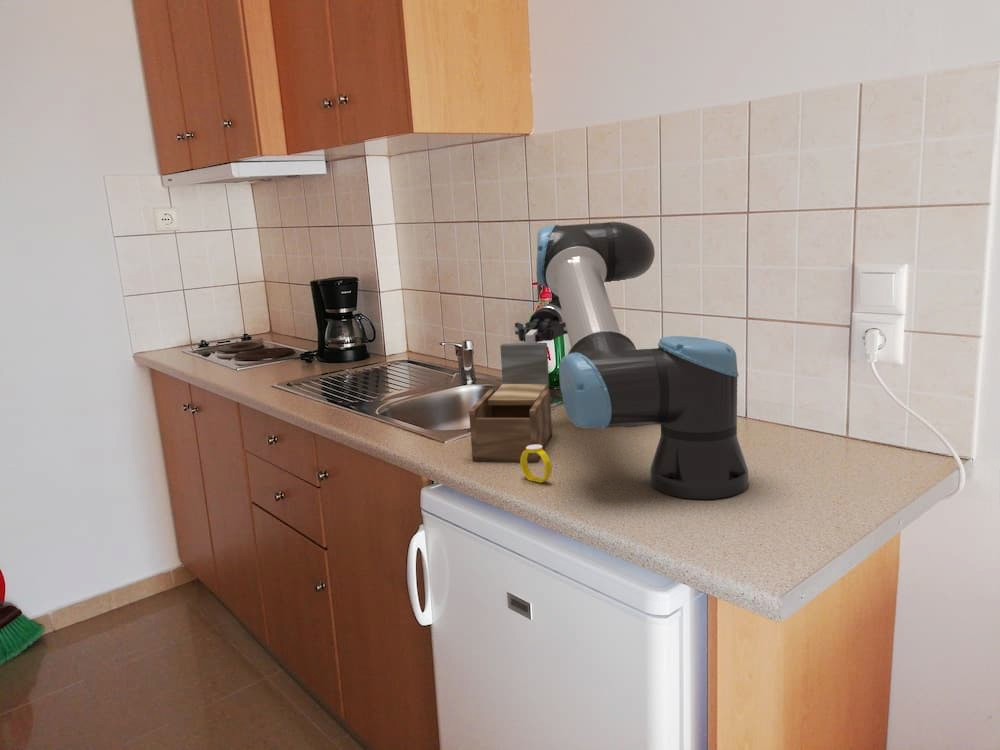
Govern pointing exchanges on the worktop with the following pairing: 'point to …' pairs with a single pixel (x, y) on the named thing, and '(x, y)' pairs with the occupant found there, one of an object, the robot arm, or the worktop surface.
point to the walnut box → (509, 429)
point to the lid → (522, 374)
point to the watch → (544, 457)
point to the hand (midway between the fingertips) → (529, 341)
